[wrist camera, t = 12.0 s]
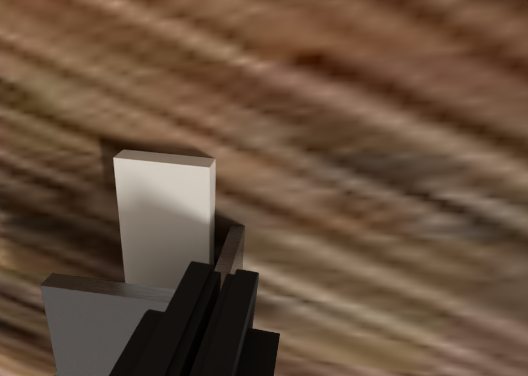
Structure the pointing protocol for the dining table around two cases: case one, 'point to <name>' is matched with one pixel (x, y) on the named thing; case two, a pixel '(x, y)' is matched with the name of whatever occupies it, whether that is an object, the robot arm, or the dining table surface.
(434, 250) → the dining table surface
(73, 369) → the grey storage bin
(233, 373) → the robot arm
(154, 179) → the white rectangular block
